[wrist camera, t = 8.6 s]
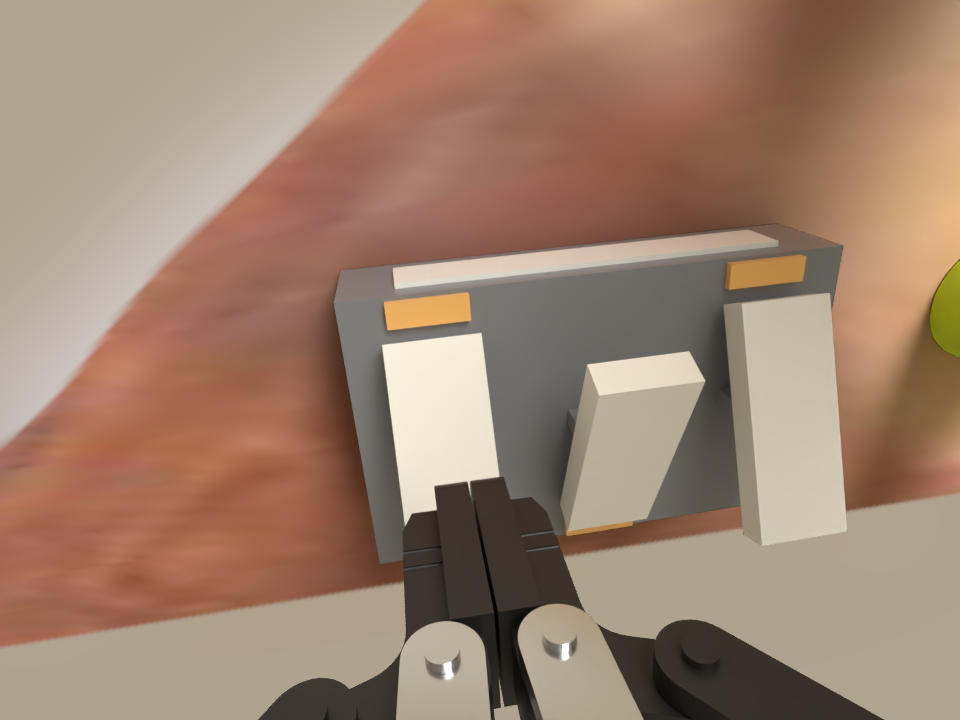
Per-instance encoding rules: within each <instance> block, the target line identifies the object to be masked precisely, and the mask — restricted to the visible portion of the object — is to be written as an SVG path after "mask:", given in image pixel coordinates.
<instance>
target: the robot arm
mask: <svg viewBox="0 0 960 720" xmlns="http://www.w3.org/2000/svg"><path fill="white" fill-rule="evenodd" d="M434 490H435V499H436V508H437V510H434V511H427V512H419V513H412V514H411V516H410V518H409V520H408V522H407V524H406V526H405V528H404V530H403V532H402V535H403V563H404V588H405V589H404V590H405V618H406V638H405V642H404V645H403V648H402V650H401V652H400V654H399V655H398V657H397V658H396V659H395V661H394V662H393V663H392V664H391V665H390V666H389V667H388V668H387V669H386V670H384V671H383V672H382V673H380V674H379V675H377V676H375V677H374V678H372V679H370V680H368V681H366V682H364V683H362V684H359V685H357V686H355V687H353V688H351V689H348V688H347V687H346V686H345V685H344V684H342V683H341V682H338V681H336V680H333V679H328V678H317V679H311V680H307V681H304V682H301V683H299V684H297V685H295V686H293V687H292V688H290V689H289V690H287V691H286V692H285V693H283V694H282V695H281V696H280V697H279V698H278V699H277V700H276V701H275V702H274V703H273V704H272V705H271V706H270V707H269V709H268V710H267V711H266V712H265V713H264V714H263V715H262V716H261V717H260V718H259V719H258V720H495V718H494V709H496V708H500V707H501V704H500V690H499V680H500V685H501V691H502V696H503V701H504V706H505V707H506V706H511V705H518V710H519V715H520V719H521V720H884V719H882V718H880V717H878V716H876V715H874V714H873V713H871V712H869V711H867V710H866V709H864V708H862V707H860V706H859V705H857V704H855V703H853V702H851V701H850V700H848V699H846V698H844V697H842V696H841V695H839V694H837V693H835V692H833V691H832V690H830V689H828V688H826V687H824V686H823V685H821V684H819V683H817V682H815V681H814V680H812V679H810V678H808V677H806V676H805V675H803V674H801V673H799V672H797V671H796V670H794V669H792V668H790V667H788V666H787V665H785V664H783V663H781V662H779V661H778V660H776V659H774V658H772V657H771V656H769V655H767V654H765V653H763V652H762V651H760V650H758V649H756V648H755V647H753V646H751V645H749V644H747V643H746V642H744V641H742V640H740V639H738V638H736V637H735V636H733V635H731V634H729V633H728V632H726V631H724V630H722V629H720V628H719V627H716V626H714V625H712V624H709V623H707V622H703V621H698V620H681V621H676V622H673V623H671V624H669V625H667V626H666V627H664V628H663V629H662V630H661V631H660V632H659V634H658V636H657V638H656V640H655V639H648V638H640V637H632V636H625V635H620V634H617V633H614V632H611V631H609V630H607V629H605V628H603V627H601V626H600V625H598V624H597V623H596V622H595V621H594V620H593V618H592V617H591V616H589V615H588V614H587V613H586V612H585V611H584V609H583V607H582V605H581V603H580V600H579V598H578V595H577V593H576V590H575V587H574V584H573V581H572V579H571V576H570V573H569V571H568V568H567V565H566V562H565V560H564V557H563V554H562V552H561V549H560V548H559V543H558V541H557V538H556V535H555V533H554V531H553V527H552V524H551V522H550V519H549V516H548V514H547V511H546V510H545V509H544V508H543V507H542V506H541V505H539V504H538V503H537V502H536V501H535V500H534V499H533V498H532V497H526V498H519V499H512V500H511V499H510V496H509V492H508V489H507V486H506V482H505V479H504V477H503V476H502V477H495V478H487V479H480V480H472V481H470V491H469V486H468V482H467V481H466V482H459V483H451V484H444V485H436V486H434ZM470 494H471V496H470Z"/></svg>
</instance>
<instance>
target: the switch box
mask: <svg viewBox="0 0 960 720" xmlns="http://www.w3.org/2000/svg"><path fill="white" fill-rule="evenodd" d="M842 250H843V245H840V244H837V243H834V242H831V241H828V240H825V239H822V238H819V237H816V236H813V235H810V234H807V233H804V232H801V231H798V230H795V229H792V228H789V227H786V226H783V225H780V224H769V225H760V226H750V227H741V228H732V229H722V230H713V231H704V232H694V233H685V234H676V235H666V236H657V237H648V238H638V239H629V240H620V241H610V242H601V243H592V244H582V245H573V246H564V247H554V248H545V249H536V250H526V251H517V252H508V253H498V254H489V255H480V256H470V257H461V258H452V259H442V260H433V261H424V262H414V263H405V264H396V265H386V266H377V267H368V268H358V269H349V270H340V275H339V280H338V285H337V290H336V295H335V300H334V307H335V313H336V318H337V324H338V330H339V335H340V341H341V347H342V352H343V358H344V364H345V369H346V375H347V381H348V386H349V392H350V398H351V403H352V409H353V415H354V420H355V426H356V432H357V437H358V443H359V449H360V454H361V460H362V466H363V471H364V477H365V483H366V488H367V494H368V500H369V505H370V511H371V517H372V522H373V528H374V534H375V539H376V545H377V551H378V556H379V562H380V564H384V563H390V562H396V561H403V535H402V532H403V530H404V528H405V522H404V514H403V506H402V498H401V491H400V483H399V475H398V467H397V459H396V451H395V443H394V435H393V428H392V420H391V412H390V404H389V396H388V388H387V380H386V373H385V365H384V357H383V349H382V345H386V344H394V343H402V342H410V341H418V340H427V339H435V338H443V337H451V336H460V335H468V334H476V333H481V334H482V342H483V350H484V358H485V366H486V374H487V382H488V390H489V398H490V406H491V414H492V422H493V430H494V438H495V446H496V454H497V462H498V470H499V477H502V476H503V477H504V479H505V482H506V486H507V489H508V492H509V496H510V499H511V500H512V499H519V498H526V497H532V498H533V499H534V500H535V501H536V502H537V503H538V504H539V505H541V506H542V507H543V508H544V509H545V510H546V511H547V514H548V516H549V519H550V522H551V524H552V527H553V531H554V533H555V535H556V536H558V535H564V534H566V536H571V535H578V534H584V533H590V532H596V531H602V530H609V529H615V528H621V527H627V526H633V523H638V522H644V521H651V520H657V519H663V518H669V517H675V516H682V515H688V514H694V513H700V512H706V511H713V510H719V509H725V508H731V507H737V506H741V503H740V492H739V480H738V468H737V457H736V445H735V434H734V422H733V410H732V399H731V387H730V375H729V364H728V352H727V340H726V329H725V317H724V305H725V304H733V303H741V302H750V301H758V300H766V299H774V298H782V297H791V296H799V295H807V294H822V293H830V300H831V312H832V306H833V300H834V295H835V289H836V284H837V278H838V273H839V267H840V261H841V256H842ZM687 351H689V352H690V354H691V356H692V357H693V359H694V361H695V363H696V365H697V367H698V368H699V370H700V372H701V374H702V376H703V378H704V379H705V383H704V386H703V388H702V390H701V393H700V395H699V397H698V400H697V402H696V404H695V407H694V409H693V411H692V414H691V416H690V419H689V421H688V423H687V426H686V428H685V430H684V433H683V435H682V437H681V440H680V442H679V444H678V447H677V449H676V451H675V454H674V456H673V459H672V461H671V463H670V466H669V468H668V470H667V473H666V475H665V477H664V480H663V482H662V484H661V487H660V489H659V491H658V494H657V496H656V498H655V501H654V503H653V506H652V508H651V510H650V513H649V515H648V517H647V519H642V520H636V521H629V522H623V523H617V524H611V525H605V526H598V527H592V528H586V529H580V530H573V531H568V530H567V527H566V523H565V520H564V516H563V513H562V509H561V506H560V501H561V496H562V491H563V486H564V481H565V476H566V471H567V466H568V460H569V455H570V450H571V445H572V440H573V435H574V430H575V425H576V420H577V415H578V409H579V404H580V399H581V394H582V389H583V384H584V379H585V374H586V369H587V364H595V363H603V362H610V361H618V360H626V359H633V358H641V357H649V356H656V355H664V354H672V353H680V352H687Z"/></svg>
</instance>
